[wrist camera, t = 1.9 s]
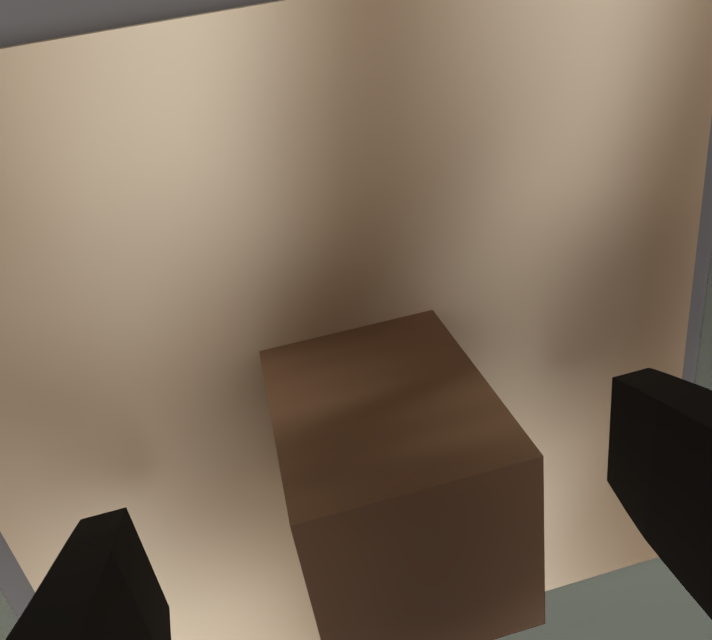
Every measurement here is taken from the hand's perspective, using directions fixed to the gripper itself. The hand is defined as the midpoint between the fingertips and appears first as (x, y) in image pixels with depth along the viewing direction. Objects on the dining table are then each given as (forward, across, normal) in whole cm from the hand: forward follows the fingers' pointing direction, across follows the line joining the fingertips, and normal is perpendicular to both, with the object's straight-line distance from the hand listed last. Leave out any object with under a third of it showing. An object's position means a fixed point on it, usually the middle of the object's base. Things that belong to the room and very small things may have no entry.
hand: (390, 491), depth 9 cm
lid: (+3, 0, 0) cm, 3 cm away
